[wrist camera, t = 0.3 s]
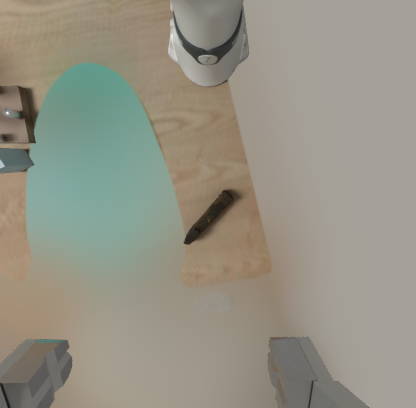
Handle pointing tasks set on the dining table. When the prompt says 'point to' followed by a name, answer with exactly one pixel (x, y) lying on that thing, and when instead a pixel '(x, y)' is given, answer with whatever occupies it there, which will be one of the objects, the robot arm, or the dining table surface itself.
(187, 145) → the dining table surface
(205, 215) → the rusty brown artillery shell
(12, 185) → the dining table surface
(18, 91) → the peg board
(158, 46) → the dining table surface
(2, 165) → the block
